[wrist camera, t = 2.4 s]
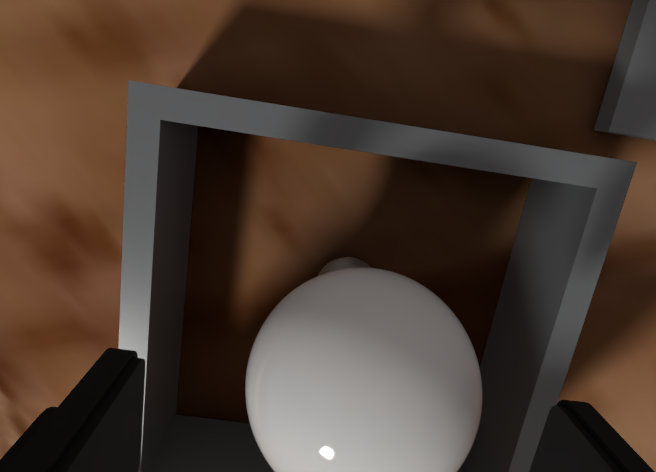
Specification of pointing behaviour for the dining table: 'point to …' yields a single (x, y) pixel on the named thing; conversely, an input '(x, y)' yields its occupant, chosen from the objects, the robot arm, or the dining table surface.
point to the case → (386, 139)
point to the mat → (633, 78)
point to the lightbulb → (363, 377)
